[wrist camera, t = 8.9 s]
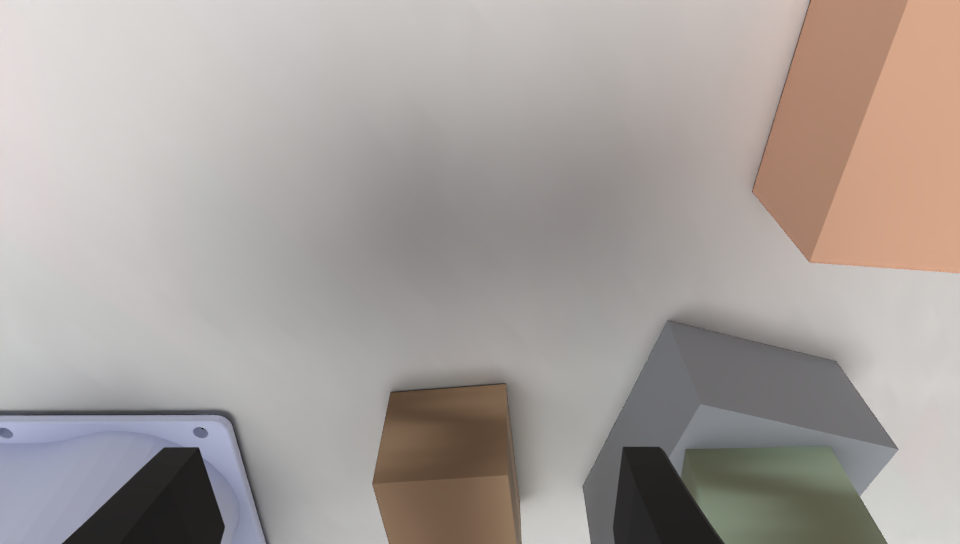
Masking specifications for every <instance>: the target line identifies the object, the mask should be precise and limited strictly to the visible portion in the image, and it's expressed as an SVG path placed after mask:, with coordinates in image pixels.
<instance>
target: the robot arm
mask: <svg viewBox="0 0 960 544" xmlns="http://www.w3.org/2000/svg"><path fill="white" fill-rule="evenodd" d="M199 427H201V428H204V429H206V430H203V429H201V428H199ZM613 534H614V542H615V544H725V543H724V542H723V540H722V539H721V538H720V536H719V535H718V534H717V532H716V531H715V529H714V528H713V526H712V525H711V524H710V522H709V521H708V519H707V518H706V516H705V515H704V513H703V512H702V510H701V509H700V507H699V506H698V504H697V503H696V501H695V500H694V498H693V497H692V495H691V494H690V492H689V490H688V489H687V487H686V486H685V484H684V483H683V481H682V479H681V478H680V476H679V475H678V473H677V471H676V470H675V468H674V466H673V465H672V463H671V461H670V460H669V458H668V456H667V454H666V453H665V451H664V450H663V449H661V448H660V447H623V448H622V457H621V465H620V473H619V481H618V489H617V497H616V505H615V514H614V522H613ZM0 544H266V542H265V538H264V535H263V531H262V528H261V524H260V521H259V517H258V514H257V510H256V507H255V503H254V500H253V497H252V493H251V490H250V486H249V483H248V479H247V476H246V472H245V469H244V465H243V462H242V458H241V455H240V451H239V448H238V444H237V441H236V437H235V434H234V430H233V427H232V424H231V423H230V421H229V420H227V419H226V418H225V417H222V416H218V415H61V416H0Z"/></svg>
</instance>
